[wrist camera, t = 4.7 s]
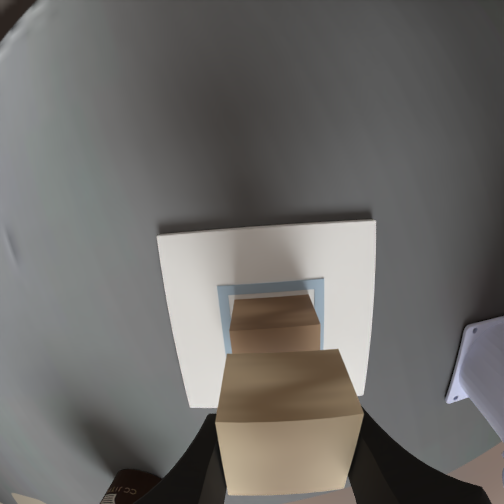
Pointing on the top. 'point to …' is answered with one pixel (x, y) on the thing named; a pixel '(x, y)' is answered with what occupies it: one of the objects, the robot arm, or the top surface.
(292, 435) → the maple block
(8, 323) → the top surface
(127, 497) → the coffee mug
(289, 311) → the walnut block
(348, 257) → the board
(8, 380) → the top surface
